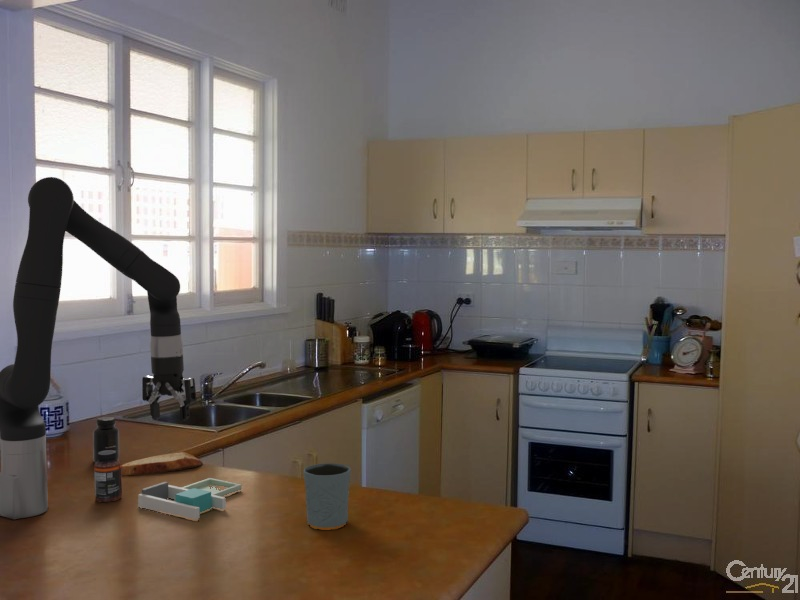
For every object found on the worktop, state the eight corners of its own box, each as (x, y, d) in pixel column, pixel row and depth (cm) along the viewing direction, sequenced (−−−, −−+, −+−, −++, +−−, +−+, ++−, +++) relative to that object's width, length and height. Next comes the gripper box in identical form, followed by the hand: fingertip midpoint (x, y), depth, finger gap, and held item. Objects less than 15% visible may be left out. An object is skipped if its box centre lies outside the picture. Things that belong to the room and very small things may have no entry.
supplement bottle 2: (110, 493, 191) (109, 447, 190) (127, 497, 188) (126, 450, 187) (89, 500, 185) (88, 453, 185) (106, 504, 182) (105, 456, 182)
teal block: (193, 518, 173) (192, 498, 173) (175, 514, 176) (175, 494, 176) (211, 511, 178) (211, 491, 178) (194, 507, 181) (193, 488, 181)
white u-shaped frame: (196, 522, 171) (195, 504, 170) (138, 507, 180) (138, 490, 180) (225, 510, 178) (225, 493, 178) (168, 497, 188) (168, 480, 188)
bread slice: (111, 475, 208) (111, 461, 207) (154, 458, 225) (153, 445, 224) (169, 481, 202) (169, 467, 201) (208, 463, 219) (208, 450, 218)
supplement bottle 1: (110, 464, 216) (109, 421, 216) (88, 463, 218) (87, 420, 217) (124, 458, 223) (123, 416, 222) (102, 456, 224) (101, 415, 224)
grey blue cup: (307, 533, 164) (307, 477, 163) (300, 517, 174) (300, 464, 173) (355, 529, 167) (355, 473, 166) (345, 513, 176) (345, 460, 175)
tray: (209, 503, 183) (209, 495, 183) (177, 496, 189) (177, 488, 189) (241, 491, 192) (241, 484, 192) (210, 484, 198) (210, 477, 198)
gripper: (132, 354, 190) (136, 421, 192) (181, 357, 185) (184, 425, 186) (153, 350, 197) (156, 414, 198) (200, 352, 192) (203, 417, 193)
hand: (170, 419), depth 192 cm, fingers open, 8 cm apart
